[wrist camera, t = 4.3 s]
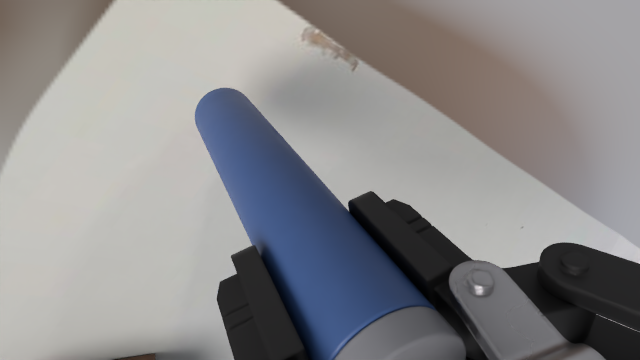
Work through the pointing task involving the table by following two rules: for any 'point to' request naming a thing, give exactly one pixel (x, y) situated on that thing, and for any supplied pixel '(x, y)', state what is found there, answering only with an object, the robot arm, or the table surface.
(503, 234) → the table surface
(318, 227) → the handle
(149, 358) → the holder
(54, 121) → the table surface
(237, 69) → the table surface
